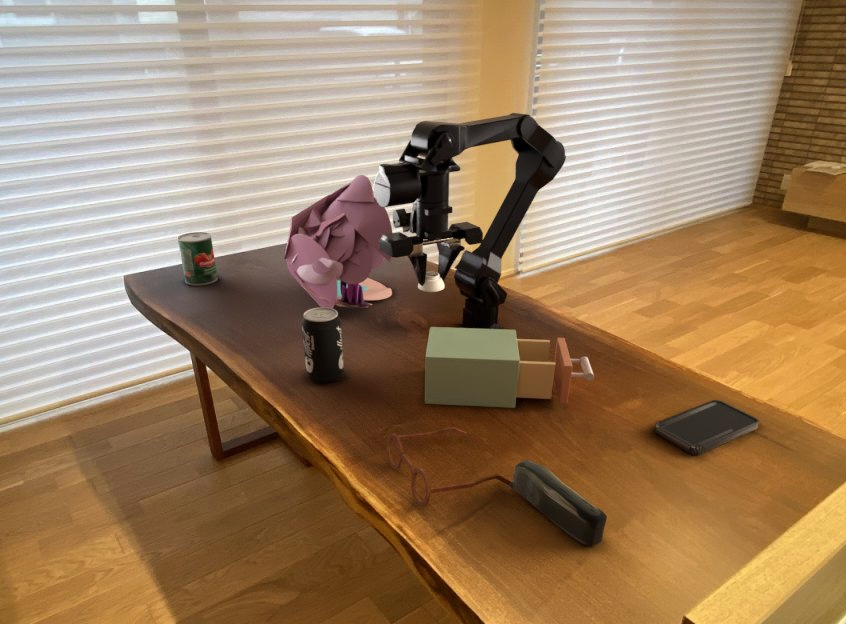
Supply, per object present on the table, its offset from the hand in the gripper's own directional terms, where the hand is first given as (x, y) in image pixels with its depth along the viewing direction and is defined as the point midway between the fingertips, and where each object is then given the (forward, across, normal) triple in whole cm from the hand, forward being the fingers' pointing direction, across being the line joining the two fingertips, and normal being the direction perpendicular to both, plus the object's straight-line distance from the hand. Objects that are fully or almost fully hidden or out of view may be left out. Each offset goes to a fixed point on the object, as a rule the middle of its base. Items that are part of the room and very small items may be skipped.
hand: (431, 283), depth 116 cm
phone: (+12, -21, +47) cm, 53 cm away
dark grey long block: (+12, +12, +51) cm, 53 cm away
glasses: (+12, +19, +38) cm, 44 cm away
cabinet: (+12, +3, +20) cm, 23 cm away
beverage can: (+12, +24, +4) cm, 27 cm away
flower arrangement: (+12, +4, -31) cm, 34 cm away
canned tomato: (+12, +33, -58) cm, 68 cm away
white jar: (+1, 0, 0) cm, 1 cm away
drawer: (+11, -6, +25) cm, 28 cm away
